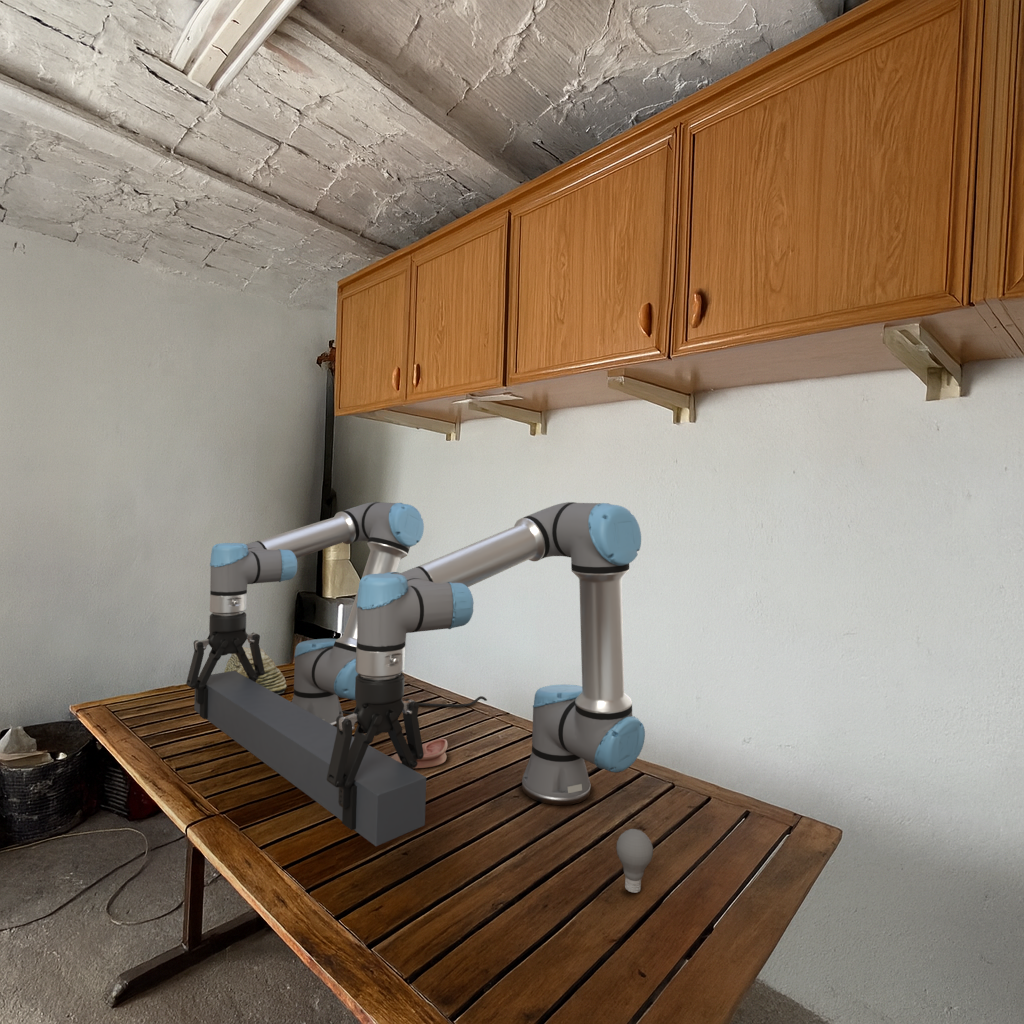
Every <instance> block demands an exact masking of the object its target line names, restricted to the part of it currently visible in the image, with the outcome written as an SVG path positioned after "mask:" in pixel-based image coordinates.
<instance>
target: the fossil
mask: <svg viewBox="0 0 1024 1024" xmlns="http://www.w3.org/2000/svg"><path fill="white" fill-rule="evenodd" d="M242 647H243V649H244V651H245V654H246V656H247V658H248V660H249V662H250V663H251V665H252V667H253V669H254V671H255V667H254V663H253V658H252V654H251V649H250V647H247V646H246V647H245V646H242ZM260 652H261V656H262V661H263V666H264V671H265V674H264V675H261V676H259V677H258V680H256V683H258V684H260V685H261V686H263V687H265V688H267V689H269V690H270V691H272V692H274V693H276V694H278V695H281V694H284V693H285V691H286V689H287V687H288V686H287V680H286V678H285V676H284V674H283V673H282V672H281V669H279V668H278V667H277V665H276V663H275V662H274V660H273V659H272V658H271V657H270V656H269V655H268V654H267V653H266V652H265V650H264V649H263V648H261V647H260ZM230 655H231V656H230V657H229V659H228V660H227V663H226V666H225V668H224V672H229V671H236V672H238V673H240V674H242V675H243V676H245V677H247V678H248V676H247V674H246V672H245V670H244V668H243V666H242V664H241V663H240V661H239V659H238V657H237V655H236V654H230Z"/></svg>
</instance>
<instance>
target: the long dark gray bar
mask: <svg viewBox="0 0 1024 1024" xmlns="http://www.w3.org/2000/svg"><path fill="white" fill-rule="evenodd" d="M205 687H206V688H208V718H207V719H206V721H208V722H209V723H210V724H212V725H213V726H215V728H217V729H219V730H220V731H221V732H223V733H224V734H225V735H227V736H228V737H229V738H230V739H232V740H233V741H235V742H236V743H237V744H238V745H240V747H242V748H243V749H245V750H247V751H248V752H249V753H251V754H252V755H253V756H255V757H256V758H257V759H258V760H260V761H261V762H262V763H264V764H265V765H266V766H268V767H269V768H271V769H272V770H273V771H274V772H276V773H277V774H278V775H280V776H281V777H283V778H284V779H285V780H287V782H289V783H290V784H292V785H293V786H294V787H296V788H297V789H299V790H300V791H301V792H303V793H304V794H305V795H307V796H308V797H309V798H311V800H313V801H314V802H316V803H317V804H319V805H320V806H321V807H323V808H324V809H325V810H326V811H328V812H329V813H331V814H332V815H333V816H335V817H336V818H337V819H339V820H340V821H341V822H342V812H343V807H341V806H340V805H339V803H338V799H339V798H338V797H339V787H335V786H334V785H332V784H331V783H329V782H328V781H327V774H328V770H329V765H330V761H331V756H332V752H333V747H334V743H335V738H336V734H337V727H335V726H333V725H331V724H330V723H328V722H326V721H324V720H323V719H321V718H319V717H317V716H315V715H314V714H312V713H310V712H308V711H306V710H305V709H303V708H301V707H299V706H297V705H296V704H294V703H292V701H290V700H288V699H286V698H285V697H283V696H281V695H280V694H276V693H274V692H272V691H270V690H269V689H267V688H265V687H263V686H261V685H260V684H258V683H256V682H254V681H252V680H251V679H249V678H247V677H245V676H243V675H242V674H240V673H238V672H236V671H229V672H225V671H223V672H217V673H211V675H210V677H209V679H208V681H207V683H206V685H205ZM195 698H196V689H195V688H194V705H193V706H194V708H193V710H194V711H195V712H196V713H197V714H198V715H200V704H198V703H197V702H196V700H195ZM353 740H354V735H352V740H351V744H350V747H351V745H352V742H353ZM349 750H350V749H349ZM391 757H392V756H389V755H387V754H385V753H384V752H381V750H378V749H376V748H374V747H373V746H371V745H370V744H369V745H368V748H367V750H366V752H365V755H364V757H363V760H362V762H361V765H360V767H359V769H358V772H357V774H356V777H355V779H354V781H353V784H354V785H356V786H357V804H356V829H354V830H353V831H355V832H356V833H357V834H359V835H360V836H361V837H362V838H363V839H365V840H367V841H368V842H369V843H371V844H372V845H373V846H375V847H378V846H380V845H383V844H385V843H388V842H390V841H392V840H394V839H397V838H399V837H401V836H404V835H406V834H408V833H410V832H413V831H415V830H417V829H419V828H422V827H424V826H426V807H427V805H426V803H427V799H426V798H427V776H425V775H423V774H421V773H420V772H418V771H416V770H414V769H413V770H412V769H411V768H409V767H407V766H405V765H403V764H402V763H400V762H398V761H396V760H394V759H393V758H391Z"/></svg>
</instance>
